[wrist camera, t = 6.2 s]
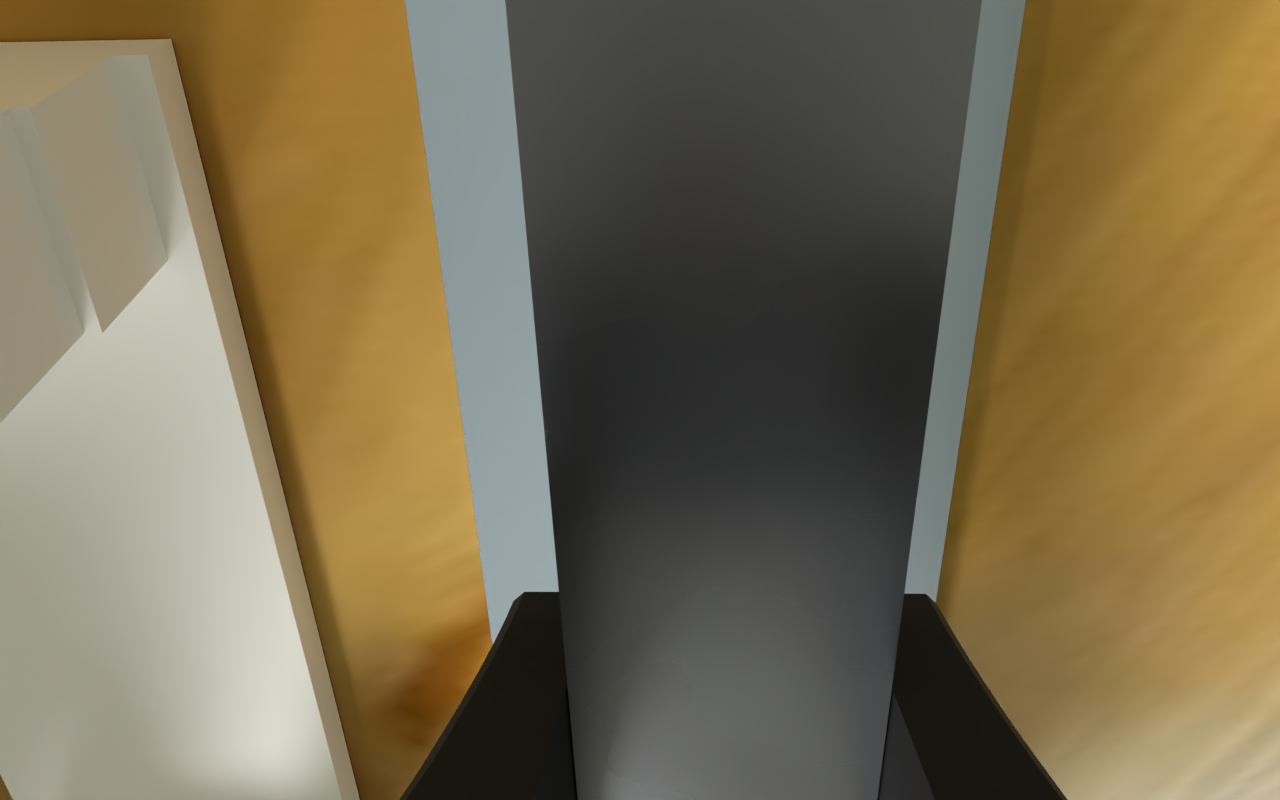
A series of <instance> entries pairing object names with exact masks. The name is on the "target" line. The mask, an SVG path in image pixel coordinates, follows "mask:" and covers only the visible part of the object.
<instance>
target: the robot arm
mask: <svg viewBox="0 0 1280 800" xmlns="http://www.w3.org/2000/svg"><path fill="white" fill-rule="evenodd" d="M400 800H578V797H577V786H576V775H575V764H574V753H573V742H572V731H571V720H570V709H569V698H568V687H567V676H566V665H565V654H564V643H563V632H562V621H561V610H560V599H559V592H524V593H522V594H521V595H520V596H519V597H518V598H516V599H515V600H514V601H513V603H512V605H511V608H510V610H509V612H508V614H507V617H506V619H505V621H504V623H503V625H502V627H501V629H500V631H499V633H498V635H497V637H496V639H495V641H494V643H493V645H492V647H491V649H490V651H489V653H488V655H487V657H486V659H485V661H484V663H483V664H482V666H481V668H480V670H479V672H478V674H477V675H476V677H475V679H474V681H473V682H472V684H471V686H470V688H469V689H468V691H467V693H466V695H465V697H464V698H463V700H462V702H461V704H460V705H459V707H458V709H457V710H456V712H455V714H454V715H453V717H452V718H451V720H450V722H449V723H448V725H447V726H446V728H445V730H444V731H443V733H442V735H441V736H440V738H439V739H438V741H437V743H436V744H435V746H434V747H433V749H432V751H431V752H430V754H429V756H428V757H427V759H426V760H425V762H424V764H423V765H422V767H421V768H420V770H419V771H418V773H417V775H416V776H415V778H414V779H413V781H412V782H411V784H410V785H409V787H408V788H407V790H406V791H405V792H404V794H403V795H402V797H401V798H400ZM877 800H1067V799H1066V797H1065V796H1064V795H1063V793H1062V792H1061V791H1060V789H1059V788H1058V786H1057V785H1056V784H1055V782H1054V781H1053V780H1052V778H1051V777H1050V776H1049V774H1048V773H1047V771H1046V770H1045V769H1044V767H1043V766H1042V765H1041V763H1040V762H1039V760H1038V759H1037V758H1036V756H1035V755H1034V754H1033V752H1032V751H1031V750H1030V748H1029V747H1028V745H1027V744H1026V743H1025V741H1024V740H1023V739H1022V737H1021V736H1020V734H1019V733H1018V731H1017V730H1016V729H1015V727H1014V726H1013V724H1012V723H1011V721H1010V720H1009V719H1008V717H1007V716H1006V714H1005V713H1004V711H1003V710H1002V708H1001V707H1000V705H999V704H998V702H997V701H996V699H995V698H994V696H993V695H992V693H991V692H990V690H989V689H988V687H987V686H986V684H985V683H984V681H983V680H982V678H981V677H980V675H979V673H978V672H977V670H976V669H975V667H974V666H973V664H972V662H971V661H970V659H969V658H968V656H967V655H966V653H965V651H964V650H963V648H962V646H961V645H960V643H959V642H958V640H957V638H956V637H955V635H954V633H953V632H952V630H951V628H950V626H949V625H948V623H947V621H946V620H945V618H944V616H943V615H942V613H941V611H940V609H939V607H938V606H937V604H936V603H935V602H934V601H933V600H932V599H931V598H930V597H929V596H928V595H927V594H904V600H903V607H902V615H901V623H900V630H899V638H898V645H897V653H896V661H895V668H894V676H893V684H892V691H891V699H890V706H889V714H888V722H887V729H886V737H885V745H884V752H883V760H882V768H881V775H880V783H879V790H878V798H877Z"/></svg>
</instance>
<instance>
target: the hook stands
mask: <svg viewBox="0 0 1280 800" xmlns="http://www.w3.org/2000/svg"><path fill="white" fill-rule="evenodd" d="M0 775H1V777H2V779H3V781H4V783H5V785H6V787H7V789H8V791H9V793H10V795H11V797H12V799H13V800H360V798H359V794H358V790H357V786H356V782H355V778H354V774H353V770H352V766H351V762H350V758H349V754H348V750H347V746H346V742H345V738H344V734H343V730H342V726H341V722H340V718H339V714H338V710H337V706H336V702H335V698H334V694H333V690H332V686H331V682H330V678H329V674H328V669H327V665H326V661H325V657H324V653H323V649H322V645H321V641H320V637H319V633H318V629H317V625H316V621H315V617H314V613H313V609H312V605H311V601H310V597H309V593H308V589H307V585H306V581H305V577H304V573H303V569H302V565H301V561H300V557H299V553H298V549H297V545H296V541H295V537H294V533H293V528H292V524H291V520H290V516H289V512H288V508H287V504H286V500H285V496H284V492H283V488H282V484H281V480H280V476H279V472H278V468H277V464H276V460H275V456H274V452H273V448H272V444H271V440H270V436H269V432H268V428H267V424H266V420H265V416H264V412H263V408H262V404H261V400H260V396H259V392H258V387H257V383H256V379H255V375H254V371H253V367H252V363H251V359H250V355H249V351H248V347H247V343H246V339H245V335H244V331H243V327H242V323H241V319H240V315H239V311H238V307H237V303H236V299H235V295H234V291H233V287H232V283H231V279H230V275H229V271H228V267H227V263H226V259H225V255H224V251H223V246H222V242H221V238H220V234H219V230H218V226H217V222H216V218H215V214H214V210H213V206H212V202H211V198H210V194H209V190H208V186H207V182H206V178H205V174H204V170H203V166H202V162H201V158H200V154H199V150H198V146H197V142H196V138H195V134H194V130H193V126H192V122H191V118H190V114H189V110H188V105H187V101H186V97H185V93H184V89H183V85H182V81H181V77H180V73H179V69H178V65H177V61H176V57H175V53H174V49H173V45H172V41H171V39H145V40H93V41H42V42H0Z"/></svg>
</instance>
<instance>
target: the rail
mask: <svg viewBox="0 0 1280 800" xmlns="http://www.w3.org/2000/svg"><path fill="white" fill-rule="evenodd" d="M505 4H506V15H507V26H508V37H509V48H510V59H511V70H512V81H513V92H514V103H515V114H516V125H517V136H518V147H519V158H520V169H521V180H522V191H523V202H524V213H525V224H526V235H527V246H528V257H529V268H530V279H531V290H532V301H533V312H534V323H535V334H536V345H537V356H538V367H539V378H540V390H541V401H542V412H543V423H544V434H545V445H546V456H547V467H548V478H549V489H550V500H551V511H552V522H553V533H554V544H555V555H556V566H557V577H558V588H559V599H560V610H561V621H562V632H563V643H564V654H565V665H566V676H567V687H568V698H569V709H570V720H571V731H572V742H573V753H574V764H575V775H576V786H577V797H578V800H877V798H878V790H879V783H880V775H881V768H882V760H883V752H884V745H885V737H886V729H887V722H888V714H889V706H890V699H891V691H892V684H893V676H894V668H895V661H896V653H897V645H898V638H899V630H900V623H901V615H902V607H903V600H904V592H905V584H906V577H907V569H908V561H909V554H910V546H911V539H912V531H913V523H914V516H915V508H916V500H917V493H918V485H919V478H920V470H921V462H922V455H923V447H924V439H925V432H926V424H927V416H928V409H929V401H930V394H931V386H932V378H933V371H934V363H935V355H936V348H937V340H938V333H939V325H940V317H941V310H942V302H943V294H944V287H945V279H946V271H947V264H948V256H949V249H950V241H951V233H952V226H953V218H954V210H955V203H956V195H957V188H958V180H959V172H960V165H961V157H962V149H963V142H964V134H965V126H966V119H967V111H968V104H969V96H970V88H971V81H972V73H973V65H974V58H975V50H976V43H977V35H978V27H979V20H980V12H981V4H982V0H505Z"/></svg>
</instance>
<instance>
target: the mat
mask: <svg viewBox="0 0 1280 800" xmlns="http://www.w3.org/2000/svg"><path fill="white" fill-rule="evenodd" d="M1025 3H1026V0H982V4H981V12H980V20H979V27H978V35H977V43H976V50H975V58H974V65H973V73H972V81H971V88H970V96H969V104H968V111H967V119H966V126H965V134H964V142H963V149H962V157H961V165H960V172H959V180H958V188H957V195H956V203H955V210H954V218H953V226H952V233H951V241H950V249H949V256H948V264H947V271H946V279H945V287H944V294H943V302H942V310H941V317H940V325H939V333H938V340H937V348H936V355H935V363H934V371H933V378H932V386H931V394H930V401H929V409H928V416H927V424H926V432H925V439H924V447H923V455H922V462H921V470H920V478H919V485H918V493H917V500H916V508H915V516H914V523H913V531H912V539H911V546H910V554H909V561H908V569H907V577H906V584H905V592H904V594H927V595H928V596H929V597H930V598H931V599H932V600H933V601H934V602H935V603H936V597H937V591H938V584H939V577H940V571H941V564H942V557H943V551H944V544H945V537H946V530H947V524H948V517H949V510H950V504H951V497H952V490H953V484H954V477H955V470H956V464H957V457H958V450H959V444H960V437H961V430H962V424H963V417H964V410H965V404H966V397H967V390H968V384H969V377H970V370H971V364H972V357H973V350H974V344H975V337H976V330H977V324H978V317H979V310H980V304H981V297H982V290H983V283H984V277H985V270H986V263H987V257H988V250H989V243H990V237H991V230H992V223H993V217H994V210H995V203H996V197H997V190H998V183H999V177H1000V170H1001V163H1002V157H1003V150H1004V143H1005V137H1006V130H1007V123H1008V117H1009V110H1010V103H1011V97H1012V90H1013V83H1014V77H1015V70H1016V63H1017V56H1018V50H1019V43H1020V36H1021V30H1022V23H1023V16H1024V10H1025ZM405 6H406V14H407V21H408V29H409V36H410V43H411V51H412V58H413V65H414V73H415V80H416V87H417V95H418V102H419V109H420V117H421V124H422V131H423V139H424V146H425V153H426V161H427V168H428V175H429V183H430V190H431V197H432V205H433V212H434V219H435V227H436V234H437V241H438V249H439V256H440V263H441V271H442V278H443V285H444V293H445V300H446V307H447V315H448V322H449V329H450V337H451V344H452V351H453V359H454V366H455V374H456V381H457V388H458V396H459V403H460V410H461V418H462V425H463V432H464V440H465V447H466V454H467V462H468V469H469V476H470V484H471V491H472V498H473V506H474V513H475V520H476V528H477V535H478V542H479V550H480V557H481V564H482V572H483V579H484V586H485V594H486V601H487V608H488V616H489V623H490V630H491V638H492V645H493V643H494V641H495V639H496V637H497V635H498V633H499V631H500V629H501V627H502V625H503V623H504V621H505V619H506V617H507V614H508V612H509V610H510V608H511V605H512V603H513V601H514V600H515V599H516V598H518V597H519V596H520V595H521V594H522V593H524V592H559V588H558V577H557V566H556V555H555V544H554V533H553V522H552V511H551V500H550V489H549V478H548V467H547V456H546V445H545V434H544V423H543V412H542V401H541V390H540V378H539V367H538V356H537V345H536V334H535V323H534V312H533V301H532V290H531V279H530V268H529V257H528V246H527V235H526V224H525V213H524V202H523V191H522V180H521V169H520V158H519V147H518V136H517V125H516V114H515V103H514V92H513V81H512V70H511V59H510V48H509V37H508V26H507V15H506V4H505V0H405Z"/></svg>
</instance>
